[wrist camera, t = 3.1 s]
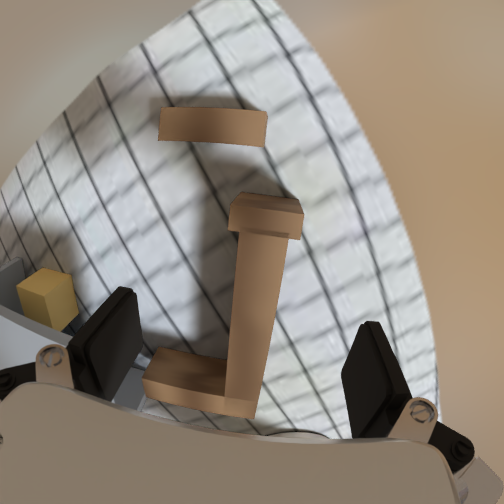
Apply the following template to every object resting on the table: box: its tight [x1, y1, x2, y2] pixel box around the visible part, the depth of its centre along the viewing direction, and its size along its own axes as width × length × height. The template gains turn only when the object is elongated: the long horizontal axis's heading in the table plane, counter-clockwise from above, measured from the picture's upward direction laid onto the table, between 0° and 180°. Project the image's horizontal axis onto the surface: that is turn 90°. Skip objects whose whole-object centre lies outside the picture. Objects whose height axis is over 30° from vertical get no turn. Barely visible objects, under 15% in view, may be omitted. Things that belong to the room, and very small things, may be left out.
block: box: [16, 268, 79, 332], centre depth 24 cm, size 5×5×5 cm
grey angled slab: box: [0, 257, 147, 412], centre depth 23 cm, size 20×13×10 cm, turn 84°
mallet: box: [142, 192, 304, 419], centre depth 22 cm, size 12×20×5 cm, turn 174°
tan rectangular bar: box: [158, 107, 268, 147], centre depth 18 cm, size 7×2×3 cm, turn 84°
